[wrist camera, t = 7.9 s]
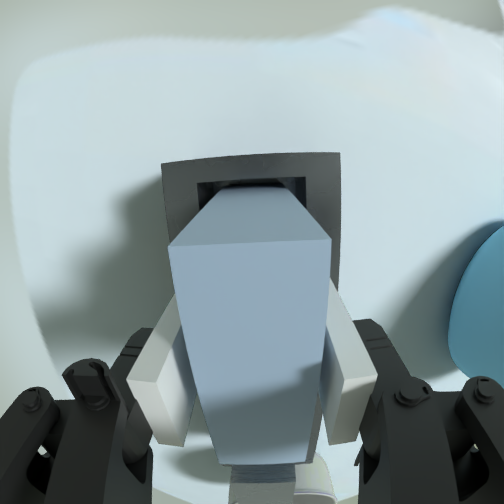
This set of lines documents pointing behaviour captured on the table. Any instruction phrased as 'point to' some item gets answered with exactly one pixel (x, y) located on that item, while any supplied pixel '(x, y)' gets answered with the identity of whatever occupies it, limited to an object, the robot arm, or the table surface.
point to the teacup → (308, 484)
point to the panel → (254, 319)
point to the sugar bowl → (480, 313)
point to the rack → (320, 208)
